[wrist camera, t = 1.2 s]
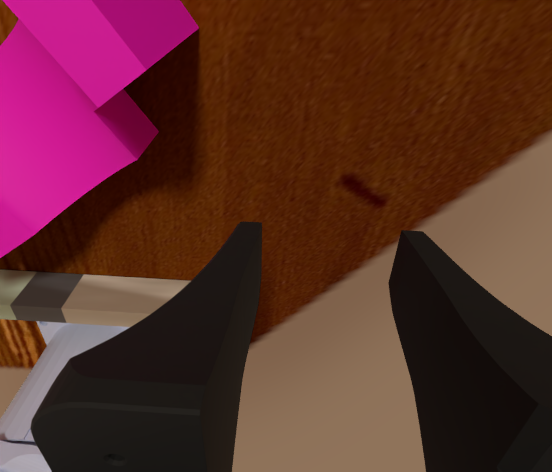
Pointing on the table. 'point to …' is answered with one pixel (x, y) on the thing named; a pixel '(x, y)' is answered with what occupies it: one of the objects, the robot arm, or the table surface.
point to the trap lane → (82, 297)
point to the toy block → (74, 100)
